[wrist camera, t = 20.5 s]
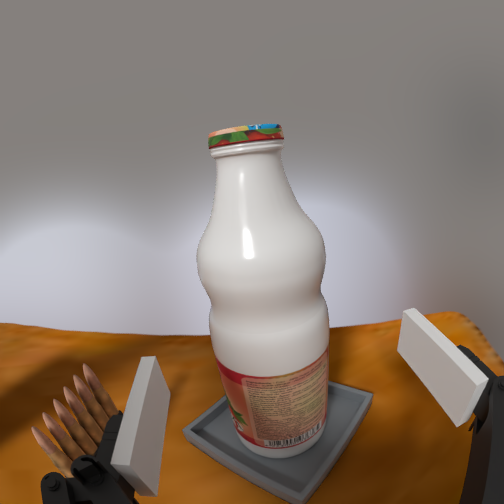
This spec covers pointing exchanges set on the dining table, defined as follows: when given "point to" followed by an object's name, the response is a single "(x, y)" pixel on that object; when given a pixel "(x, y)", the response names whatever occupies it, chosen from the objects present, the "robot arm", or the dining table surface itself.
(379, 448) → the dining table surface
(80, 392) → the ammunition clip
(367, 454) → the dining table surface
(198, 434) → the tray
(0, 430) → the dining table surface
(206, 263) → the white milk bottle
